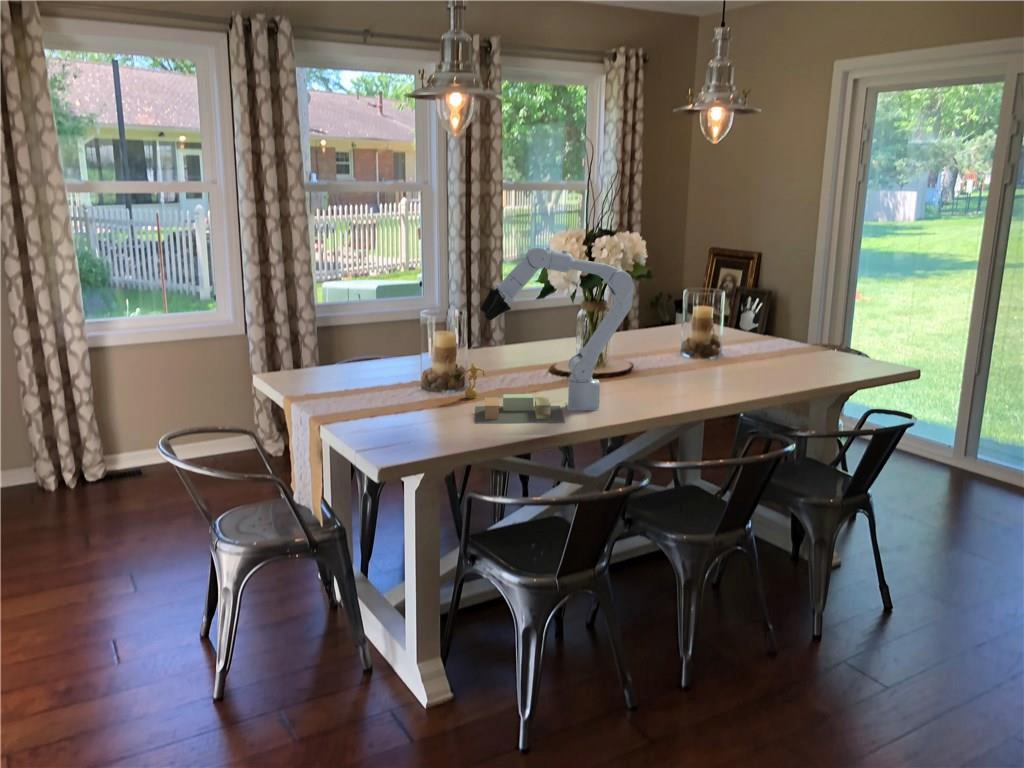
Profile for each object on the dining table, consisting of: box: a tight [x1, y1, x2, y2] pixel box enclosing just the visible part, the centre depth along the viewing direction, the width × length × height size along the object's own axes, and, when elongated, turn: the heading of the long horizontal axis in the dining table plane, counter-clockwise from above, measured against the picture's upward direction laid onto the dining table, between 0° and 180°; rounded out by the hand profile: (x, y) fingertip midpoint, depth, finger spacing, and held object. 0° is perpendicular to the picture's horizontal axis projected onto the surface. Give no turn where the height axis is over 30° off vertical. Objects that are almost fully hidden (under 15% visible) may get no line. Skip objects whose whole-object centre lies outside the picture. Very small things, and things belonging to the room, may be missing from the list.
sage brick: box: [502, 393, 534, 411], centre depth 252 cm, size 9×4×4 cm, turn 92°
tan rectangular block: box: [484, 396, 500, 419], centre depth 246 cm, size 4×9×4 cm, turn 2°
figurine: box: [459, 363, 486, 400], centre depth 262 cm, size 8×6×12 cm
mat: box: [474, 405, 566, 425], centre depth 246 cm, size 26×18×1 cm
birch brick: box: [534, 396, 552, 419], centre depth 246 cm, size 4×9×4 cm, turn 2°
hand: (485, 314), depth 246 cm, fingers open, 7 cm apart
